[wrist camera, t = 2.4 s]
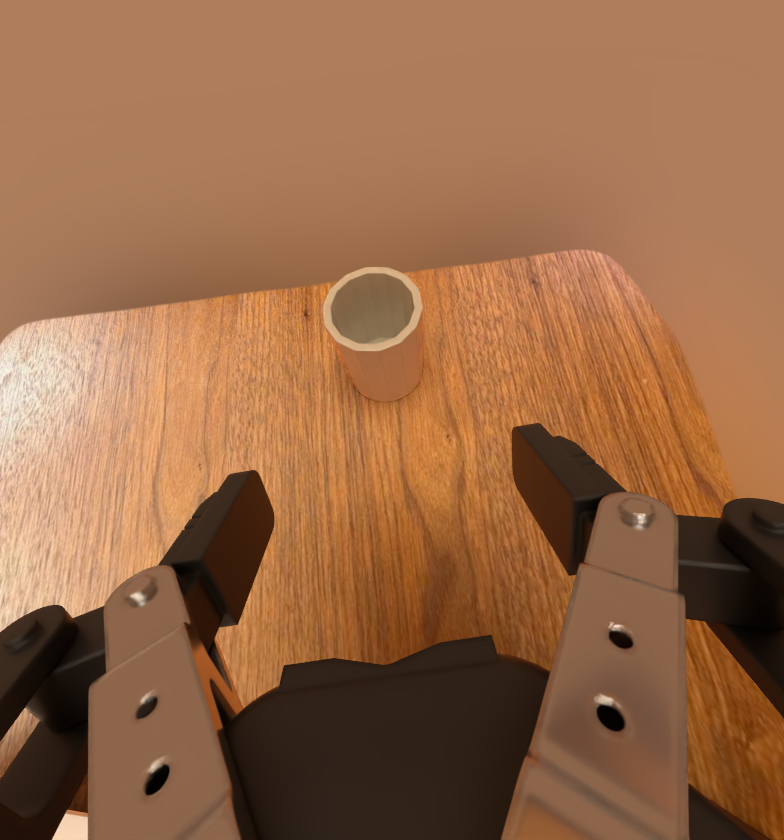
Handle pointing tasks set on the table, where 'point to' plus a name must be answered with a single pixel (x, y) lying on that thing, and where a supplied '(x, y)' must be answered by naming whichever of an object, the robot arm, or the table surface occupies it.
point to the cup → (377, 331)
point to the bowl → (73, 826)
